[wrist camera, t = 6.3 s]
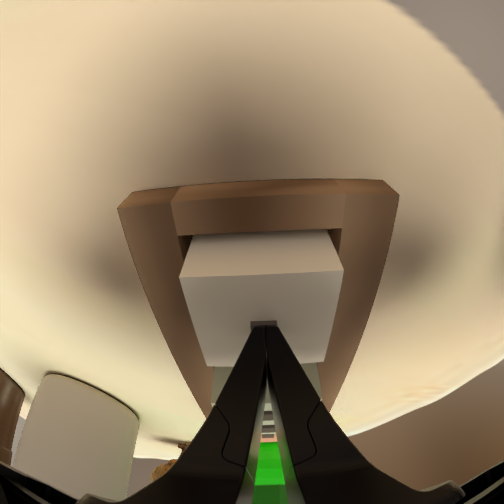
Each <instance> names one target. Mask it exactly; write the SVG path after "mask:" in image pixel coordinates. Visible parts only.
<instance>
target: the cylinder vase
mask: <svg viewBox="0 0 504 504" xmlns="http://www.w3.org/2000/svg"><path fill="white" fill-rule="evenodd" d="M138 429H139V421H138V419H137V417H136V415H135V414H134V413H133V412H132V411H131V410H130V409H128V408H127V407H126V406H125V405H123V404H122V403H120V402H119V401H117V400H116V399H114V398H112V397H111V396H109V395H107V394H105V393H103V392H101V391H99V390H97V389H95V388H93V387H91V386H89V385H87V384H85V383H82V382H80V381H78V380H75V379H72V378H69V377H66V376H62V375H57V374H49V375H46V376H44V377H43V379H42V381H41V383H40V385H39V388H38V390H37V392H36V395H35V397H34V400H33V403H32V405H31V408H30V410H29V413H28V416H27V419H26V422H25V425H24V428H23V431H22V434H21V437H20V440H19V444H18V447H17V451H16V454H15V458H14V462H13V466H12V467H13V468H15V469H17V470H19V471H21V472H23V473H25V474H27V475H29V476H31V477H34V478H36V479H38V480H40V481H42V482H44V483H46V484H48V485H51V486H53V487H55V488H57V489H59V490H61V491H63V492H65V493H67V494H69V495H71V496H73V497H75V498H77V499H81V498H82V497H83V496H84V495H85V494H87V493H89V494H93V495H97V496H100V497H104V498H108V499H112V500H116V501H122V500H124V499H126V496H127V489H128V483H129V477H130V471H131V465H132V459H133V454H134V449H135V444H136V439H137V434H138Z"/></svg>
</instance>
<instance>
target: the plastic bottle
mask: <svg viewBox="0 0 504 504" xmlns="http://www.w3.org/2000/svg"><path fill="white" fill-rule="evenodd" d="M254 484H255V485H254V492H253V499H252V504H288V498H287V493H286V487H285V481H284V476H283V470H282V464H281V459H280V453H279V447H278V442H260V449H259V456H258V464H257V471H256V478H255V483H254Z"/></svg>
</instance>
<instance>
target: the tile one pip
mask: <svg viewBox="0 0 504 504" xmlns="http://www.w3.org/2000/svg"><path fill="white" fill-rule="evenodd" d="M343 273H344V269H343V267H342V264H341V262H340V259H339V257H338V255H337V252H336V250H335V248H334V245H333V243H332V241H331V239H330V236H329V234H328V232H327V230H326V229H304V230H278V231H256V232H235V233H217V234H199V235H194V236H193V238H192V241H191V244H190V247H189V250H188V252H187V255H186V258H185V261H184V264H183V267H182V270H181V273H180V276H179V279H180V283H181V286H182V290H183V293H184V296H185V300H186V303H187V307H188V310H189V313H190V316H191V320H192V323H193V326H194V329H195V332H196V335H197V338H198V341H199V344H200V347H201V350H202V353H203V356H204V359H205V362H206V365H207V366H223V367H234V365H235V363H236V361H237V359H238V357H239V355H240V353H241V351H242V349H243V347H244V345H245V343H246V341H247V339H248V337H249V334H250V332H251V330H252V328H253V327H254V326H265V328H266V326H272V325H277V326H278V327H279V329H280V330H281V332H282V334H283V336H284V337H285V339H286V341H287V342H288V344H289V346H290V348H291V349H292V351H293V353H294V354H295V356H296V358H297V360H298V361H299V363H300V364H303V363H315V362H324V359H325V355H326V351H327V347H328V343H329V339H330V335H331V331H332V326H333V322H334V318H335V313H336V308H337V304H338V299H339V294H340V289H341V284H342V278H343ZM266 357H267V353H266Z"/></svg>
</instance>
